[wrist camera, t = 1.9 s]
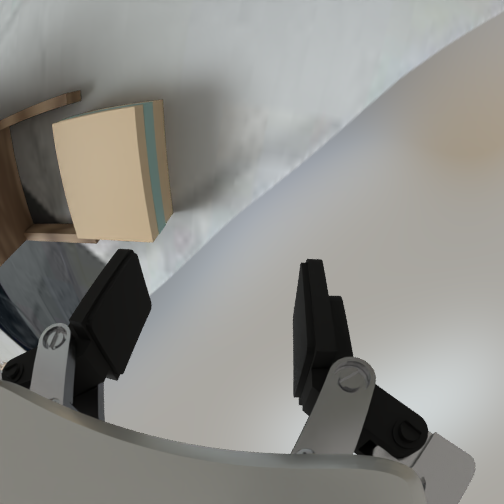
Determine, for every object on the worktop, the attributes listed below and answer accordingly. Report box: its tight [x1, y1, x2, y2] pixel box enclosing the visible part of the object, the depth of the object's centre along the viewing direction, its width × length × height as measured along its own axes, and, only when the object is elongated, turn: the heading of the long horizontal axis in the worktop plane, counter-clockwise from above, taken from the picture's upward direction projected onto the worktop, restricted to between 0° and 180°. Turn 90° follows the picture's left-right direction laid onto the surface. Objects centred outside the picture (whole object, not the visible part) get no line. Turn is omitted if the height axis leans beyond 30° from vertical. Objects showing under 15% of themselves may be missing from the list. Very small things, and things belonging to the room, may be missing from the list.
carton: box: [52, 99, 173, 242], centre depth 24 cm, size 9×12×6 cm
